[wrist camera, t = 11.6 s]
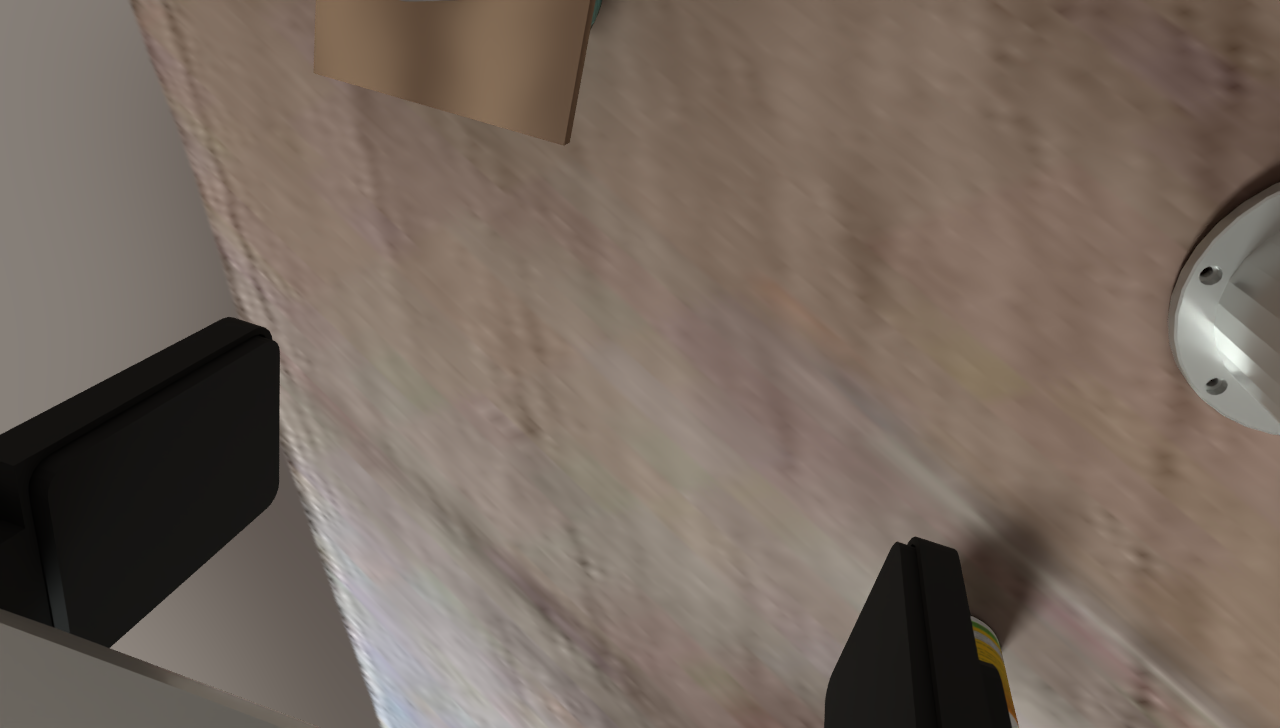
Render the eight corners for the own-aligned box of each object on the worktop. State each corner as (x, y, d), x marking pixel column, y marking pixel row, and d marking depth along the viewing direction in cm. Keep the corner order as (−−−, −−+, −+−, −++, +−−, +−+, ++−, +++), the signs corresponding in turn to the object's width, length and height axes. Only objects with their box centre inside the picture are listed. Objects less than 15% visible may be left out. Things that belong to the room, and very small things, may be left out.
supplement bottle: (928, 595, 47) (945, 730, 38) (1017, 630, 46) (1055, 776, 38) (888, 656, 49) (896, 797, 41) (972, 690, 49) (998, 840, 40)
